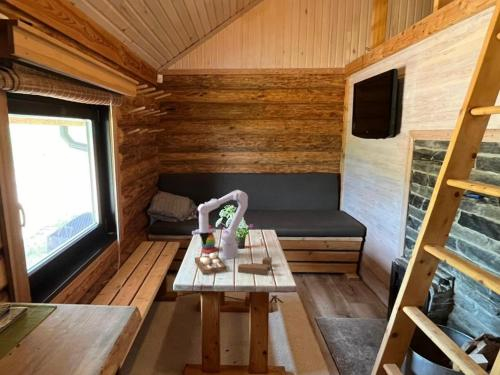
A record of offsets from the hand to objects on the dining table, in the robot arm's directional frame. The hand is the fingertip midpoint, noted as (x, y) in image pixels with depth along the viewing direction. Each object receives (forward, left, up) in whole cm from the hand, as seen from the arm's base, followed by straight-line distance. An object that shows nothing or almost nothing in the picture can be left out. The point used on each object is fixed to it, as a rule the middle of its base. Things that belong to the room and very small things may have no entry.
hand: (204, 244), depth 203 cm
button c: (-4, +7, -8) cm, 11 cm away
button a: (+2, +7, -10) cm, 12 cm away
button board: (-1, +11, -10) cm, 15 cm away
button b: (+3, +13, -8) cm, 15 cm away
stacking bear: (-7, -15, -11) cm, 20 cm away
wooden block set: (-25, +24, -11) cm, 36 cm away
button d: (-4, +13, -10) cm, 17 cm away
